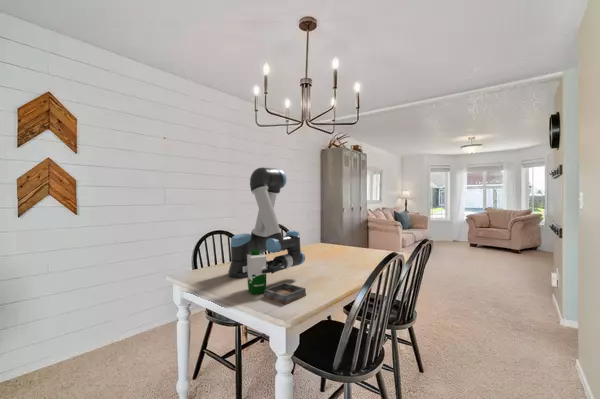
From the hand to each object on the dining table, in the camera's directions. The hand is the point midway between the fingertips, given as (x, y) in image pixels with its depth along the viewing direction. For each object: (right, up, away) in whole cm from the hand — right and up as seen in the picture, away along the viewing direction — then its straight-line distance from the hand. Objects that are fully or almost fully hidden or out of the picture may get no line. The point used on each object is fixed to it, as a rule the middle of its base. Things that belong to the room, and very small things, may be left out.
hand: (249, 271), depth 140 cm
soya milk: (+3, -11, +4) cm, 12 cm away
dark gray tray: (+17, -11, -3) cm, 20 cm away
